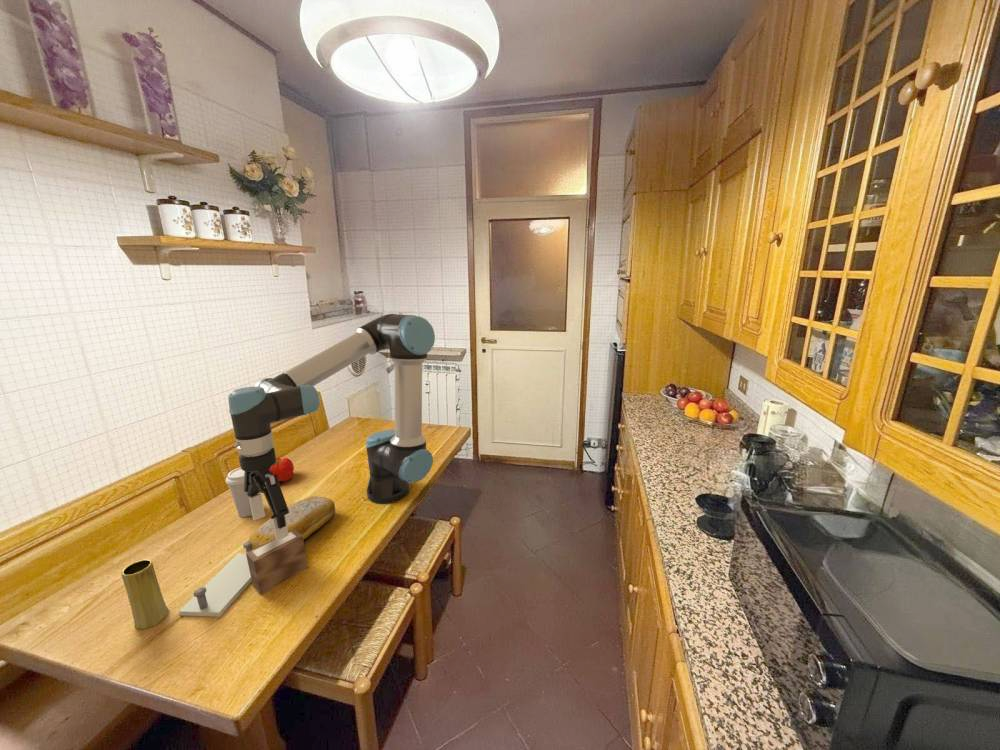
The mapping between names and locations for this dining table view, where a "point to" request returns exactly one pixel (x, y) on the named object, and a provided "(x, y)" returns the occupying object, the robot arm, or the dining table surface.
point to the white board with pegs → (221, 588)
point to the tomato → (283, 469)
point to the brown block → (277, 561)
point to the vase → (144, 594)
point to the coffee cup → (239, 492)
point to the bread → (298, 519)
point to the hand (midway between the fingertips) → (270, 527)
